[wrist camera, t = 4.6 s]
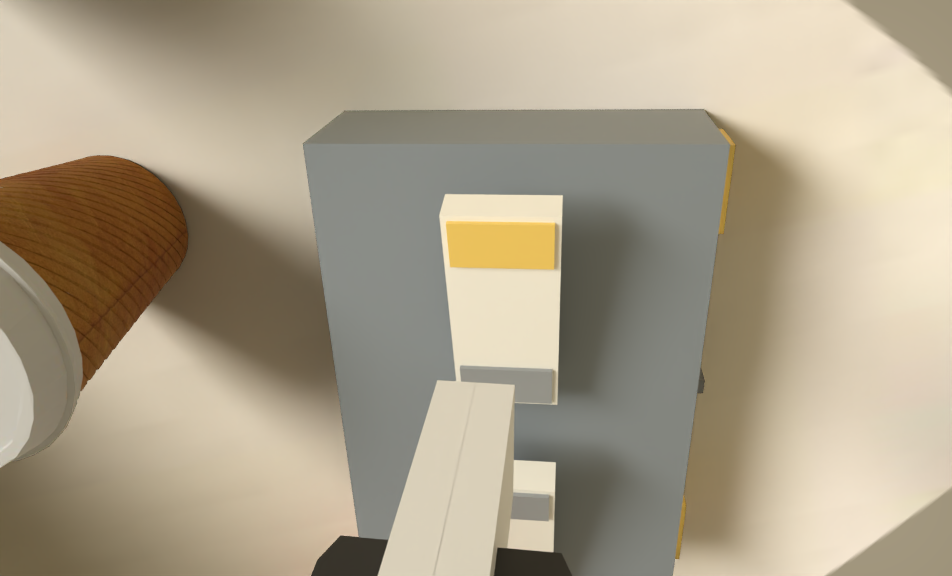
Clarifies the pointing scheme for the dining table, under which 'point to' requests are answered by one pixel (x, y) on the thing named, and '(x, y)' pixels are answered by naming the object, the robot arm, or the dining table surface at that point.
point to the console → (581, 303)
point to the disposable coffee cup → (74, 283)
